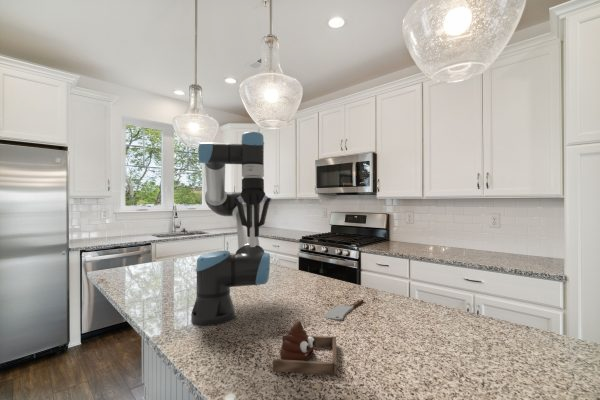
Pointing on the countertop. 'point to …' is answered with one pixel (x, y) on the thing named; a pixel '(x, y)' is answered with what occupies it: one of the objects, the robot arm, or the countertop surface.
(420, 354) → the countertop surface
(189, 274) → the countertop surface
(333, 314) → the kitchen cleaver
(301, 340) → the poop emoji
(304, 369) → the walnut corral
